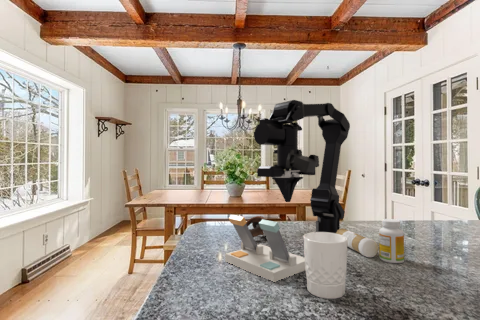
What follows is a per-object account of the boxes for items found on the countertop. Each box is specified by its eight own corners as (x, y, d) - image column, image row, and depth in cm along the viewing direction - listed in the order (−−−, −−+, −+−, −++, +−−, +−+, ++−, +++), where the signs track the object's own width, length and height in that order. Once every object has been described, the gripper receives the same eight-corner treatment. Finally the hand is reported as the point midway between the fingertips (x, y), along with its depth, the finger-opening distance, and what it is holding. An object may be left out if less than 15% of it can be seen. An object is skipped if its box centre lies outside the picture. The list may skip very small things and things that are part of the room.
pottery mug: (281, 244, 84) (270, 222, 82) (253, 258, 84) (241, 237, 82) (271, 225, 96) (261, 206, 94) (246, 238, 96) (236, 218, 93)
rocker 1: (248, 246, 72) (232, 214, 69) (260, 249, 69) (244, 217, 65) (245, 249, 71) (228, 218, 68) (257, 254, 68) (240, 220, 64)
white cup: (314, 278, 58) (314, 230, 58) (354, 289, 53) (353, 235, 53) (296, 292, 52) (295, 237, 52) (339, 305, 47) (338, 245, 47)
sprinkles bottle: (351, 234, 84) (382, 247, 71) (342, 246, 83) (371, 261, 70) (341, 224, 83) (370, 235, 70) (331, 236, 83) (359, 250, 70)
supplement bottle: (401, 257, 70) (401, 218, 70) (406, 265, 65) (405, 223, 65) (378, 255, 72) (377, 217, 72) (380, 262, 67) (380, 221, 67)
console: (260, 251, 76) (260, 237, 76) (311, 268, 63) (310, 251, 63) (224, 261, 68) (224, 245, 68) (274, 283, 56) (274, 264, 56)
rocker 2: (277, 255, 64) (262, 219, 61) (292, 260, 61) (277, 222, 58) (274, 259, 63) (258, 223, 60) (289, 265, 60) (273, 226, 57)
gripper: (287, 142, 66) (288, 209, 66) (331, 145, 78) (332, 201, 78) (255, 145, 75) (256, 204, 75) (299, 147, 87) (299, 198, 87)
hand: (287, 201), depth 78 cm, fingers closed
